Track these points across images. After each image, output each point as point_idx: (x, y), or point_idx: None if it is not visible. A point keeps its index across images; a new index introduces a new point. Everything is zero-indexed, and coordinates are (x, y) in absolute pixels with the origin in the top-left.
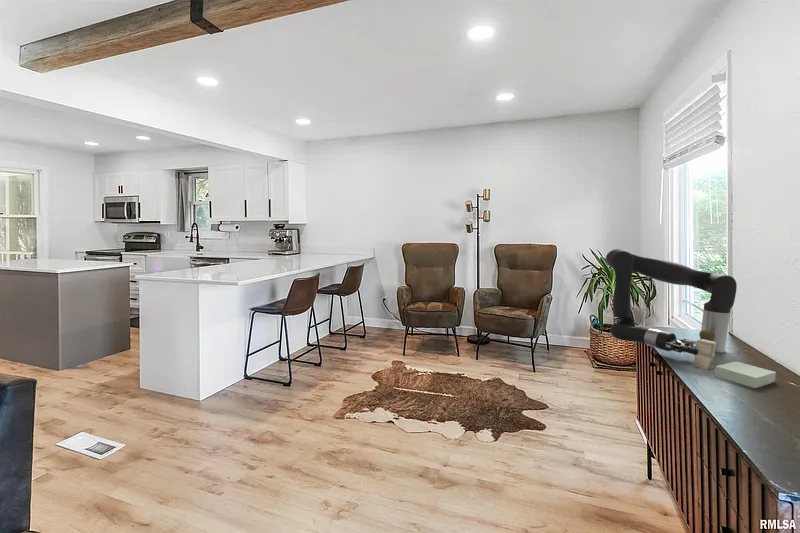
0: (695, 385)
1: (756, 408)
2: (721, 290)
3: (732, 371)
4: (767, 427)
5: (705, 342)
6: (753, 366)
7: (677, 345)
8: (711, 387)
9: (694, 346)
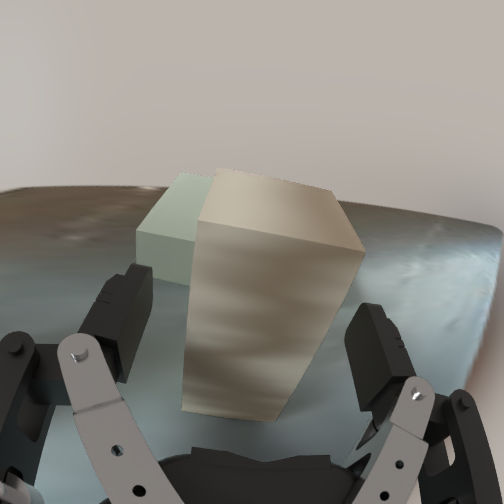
0: (471, 313)
1: (422, 233)
2: None
3: None
4: (453, 228)
5: (339, 206)
6: (170, 197)
7: (475, 427)
8: (439, 289)
9: (34, 417)
